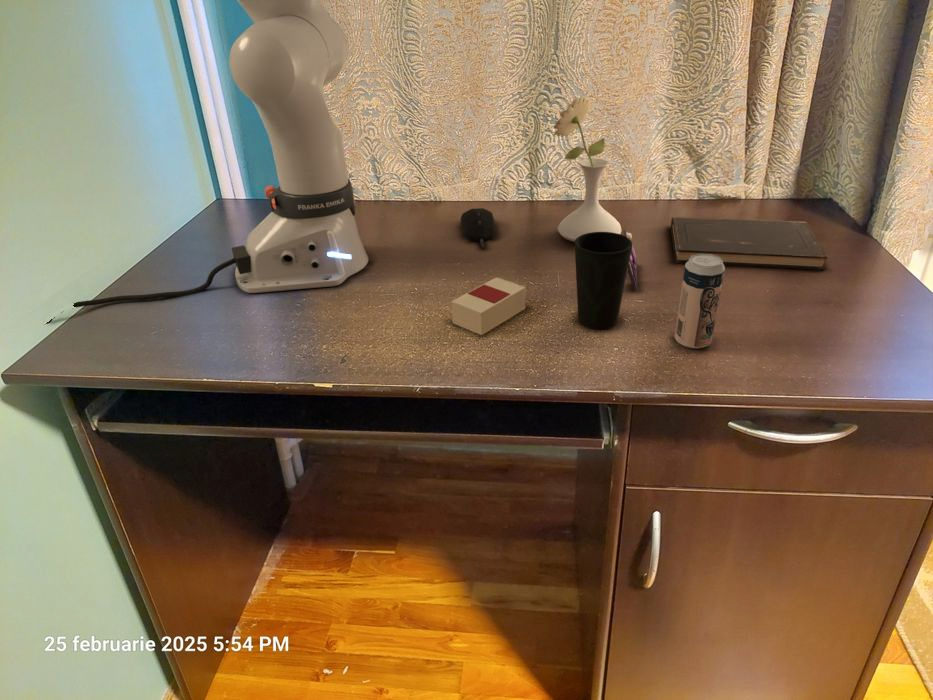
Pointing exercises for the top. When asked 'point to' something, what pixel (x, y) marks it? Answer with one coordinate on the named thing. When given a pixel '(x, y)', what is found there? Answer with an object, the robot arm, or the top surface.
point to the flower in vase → (590, 211)
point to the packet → (488, 305)
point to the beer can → (699, 300)
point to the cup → (601, 277)
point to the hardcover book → (748, 242)
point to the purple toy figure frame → (632, 272)
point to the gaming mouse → (478, 225)
